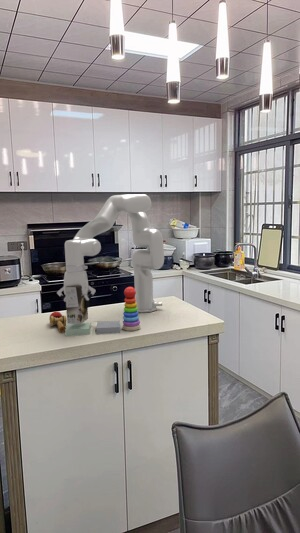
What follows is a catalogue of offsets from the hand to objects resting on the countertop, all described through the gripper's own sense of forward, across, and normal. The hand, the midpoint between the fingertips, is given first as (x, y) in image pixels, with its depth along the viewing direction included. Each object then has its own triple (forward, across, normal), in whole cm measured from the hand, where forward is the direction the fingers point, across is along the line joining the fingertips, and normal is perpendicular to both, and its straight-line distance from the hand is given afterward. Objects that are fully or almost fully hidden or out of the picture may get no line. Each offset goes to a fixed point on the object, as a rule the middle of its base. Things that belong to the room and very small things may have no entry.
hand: (77, 309), depth 162 cm
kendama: (+10, +10, -8) cm, 16 cm away
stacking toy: (+10, -23, 0) cm, 25 cm away
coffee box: (+6, 0, 0) cm, 6 cm away
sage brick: (+10, 0, 0) cm, 10 cm away
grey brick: (+10, -13, 0) cm, 17 cm away
